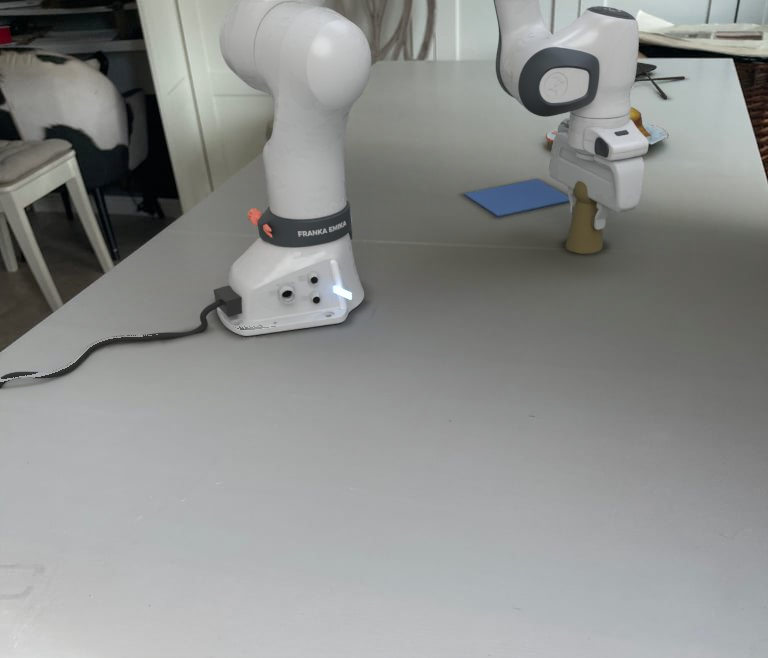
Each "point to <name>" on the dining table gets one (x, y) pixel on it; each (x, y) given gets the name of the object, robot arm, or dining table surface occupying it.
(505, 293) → the dining table surface
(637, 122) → the food on plate
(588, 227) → the brown peg doll
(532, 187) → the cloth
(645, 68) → the sushi plate
